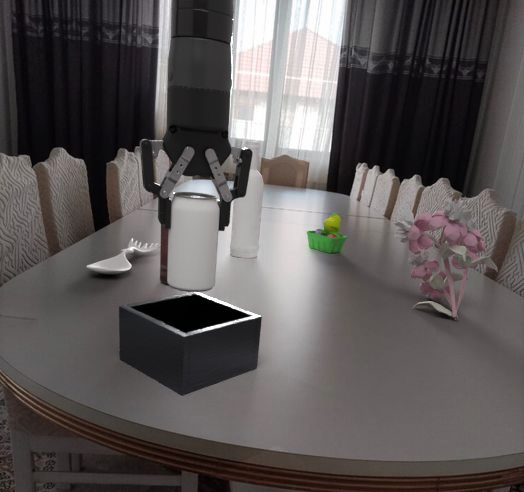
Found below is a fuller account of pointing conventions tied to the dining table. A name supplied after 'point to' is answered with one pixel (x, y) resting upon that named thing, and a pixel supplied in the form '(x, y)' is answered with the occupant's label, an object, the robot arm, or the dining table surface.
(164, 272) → the can
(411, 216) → the flower
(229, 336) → the basin
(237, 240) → the bottle
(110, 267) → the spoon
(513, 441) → the dining table surface
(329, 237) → the green easter basket
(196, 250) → the can
